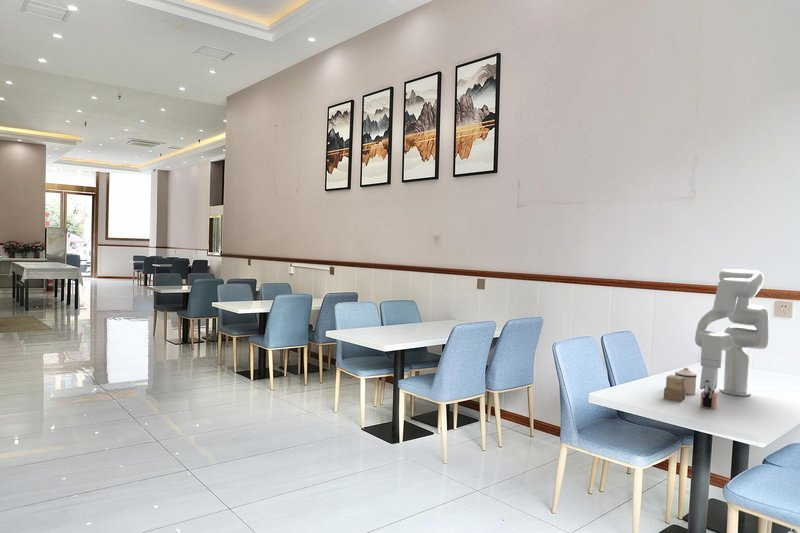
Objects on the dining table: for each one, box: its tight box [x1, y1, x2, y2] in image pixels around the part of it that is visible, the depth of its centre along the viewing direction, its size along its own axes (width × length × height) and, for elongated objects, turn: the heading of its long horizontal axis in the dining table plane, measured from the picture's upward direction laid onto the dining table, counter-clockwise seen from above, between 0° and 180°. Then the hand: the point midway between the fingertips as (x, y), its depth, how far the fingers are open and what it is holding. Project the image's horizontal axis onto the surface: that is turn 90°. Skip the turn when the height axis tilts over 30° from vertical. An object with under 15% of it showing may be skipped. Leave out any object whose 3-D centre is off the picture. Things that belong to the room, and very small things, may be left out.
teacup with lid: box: [673, 367, 697, 396], centre depth 259 cm, size 12×9×12 cm
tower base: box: [663, 386, 686, 403], centre depth 244 cm, size 7×7×5 cm
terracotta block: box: [700, 390, 718, 410], centre depth 233 cm, size 5×5×6 cm
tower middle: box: [665, 374, 685, 391], centre depth 244 cm, size 6×6×5 cm
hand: (708, 405), depth 233 cm, fingers closed on terracotta block, 5 cm apart
